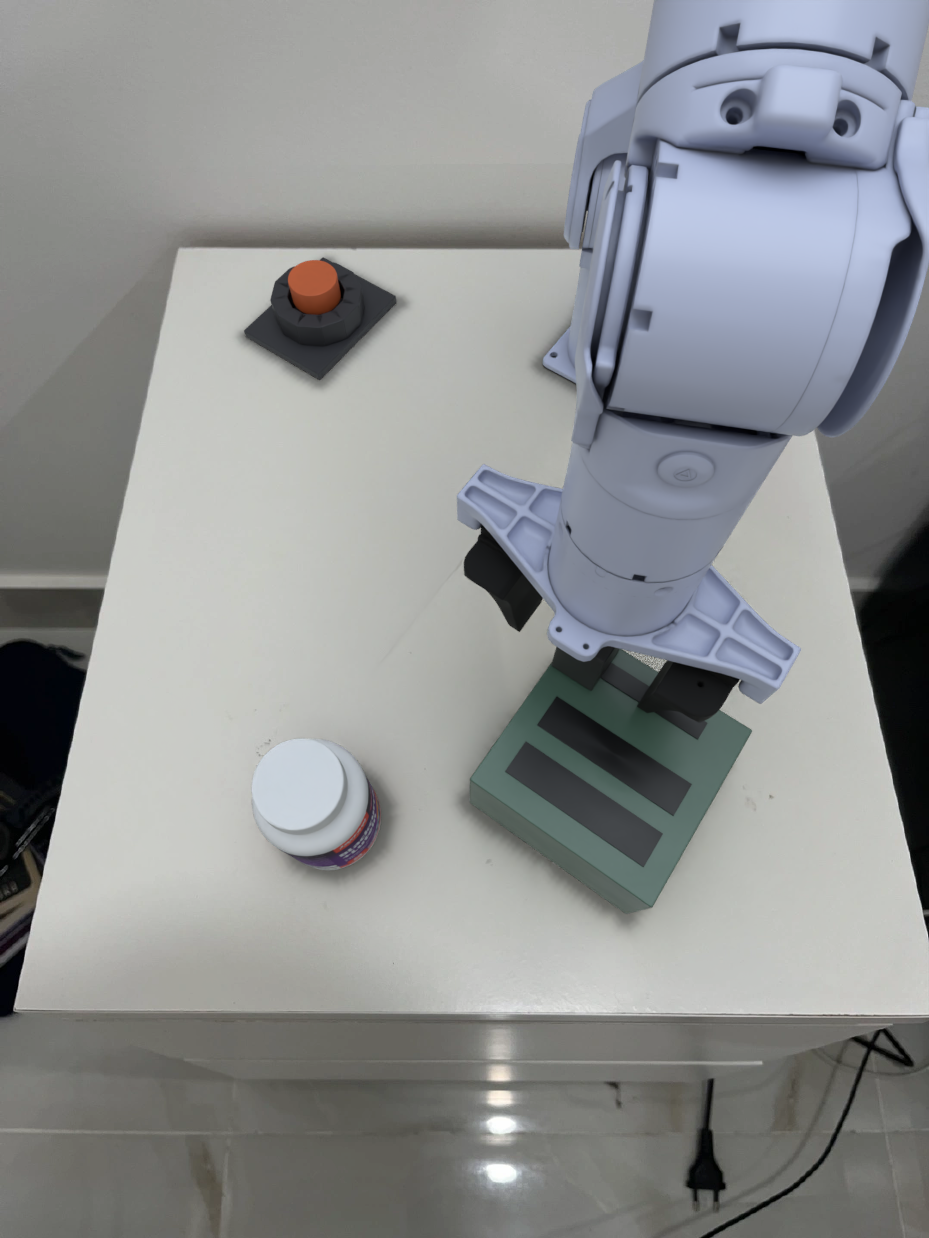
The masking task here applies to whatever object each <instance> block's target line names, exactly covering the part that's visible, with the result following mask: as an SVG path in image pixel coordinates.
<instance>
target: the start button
mask: <svg viewBox="0 0 929 1238" xmlns="http://www.w3.org/2000/svg"><path fill="white" fill-rule="evenodd" d="M293 267H294V266H293ZM288 284H289V288H290V291H291V295H292V299H293V302H294V305H295V306H296V308H297V309H298V310H300V311H301V312H303V313H306V314H314V315H321V314H323V313H326V312H329V311H331V310H333V309H334V308H335V307H336V306H337V305H338V303H339V301H340V298H341V293H340V288H339V282H338V277H337V273H336V270H335V269H334V268H333V267H332V266H331V265H330V264H328V263H326V262H324V261H320V259H311V260H305V261H302V262H300V263H297V264H296V265H295V267H294V268H293V269H292V270H291V272H290V273H289V276H288Z"/></svg>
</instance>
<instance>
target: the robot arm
mask: <svg viewBox="0 0 929 1238" xmlns="http://www.w3.org/2000/svg"><path fill="white" fill-rule="evenodd" d="M928 30H929V0H653V4H652V10H651V15H650V21H649V28H648V33H647V39H646V43H645V44H646V45H645V51H644V57H643V59H642V61H640V62H639V63H637V64H635V65H633V66H631V67H630V68H628V69H626V70H624V71H622V72H621V73H619V74H617V75H615V76H613V77H611V78H609V79H607V80H606V81H604V82H602V83H601V84H600V85H598V86H597V87H595V88H594V89H593V91H592V94H591V99H589V100H588V101H587V102H586V103H585V106H584V111H583V116H582V120H581V125H580V126H581V127H580V132H579V135H578V137H577V142H576V147H575V154H574V158H573V164H572V165H573V166H572V171H571V177H570V184H569V191H568V197H567V205H566V211H565V218H564V226H563V238H564V239H565V241H566V242H567V243H568V247H569V249H570V250H578V251H579V249H580V246H581V252H580V259H579V264H578V267H579V273H578V278H577V279H578V280H577V284H576V285H577V286H576V291H575V298H574V303H573V310H572V316H571V322H570V326H569V327H568V328H567V329H566V331H565V332H564V333H563V334H562V335H561V336H560V337H559V339H558V340H557V341H556V342H555V343H554V345H553V346H552V347H551V348H550V349H549V350H548V351H547V353H546V354H545V355H544V356H543V357H542V365H543V366H544V367H545V368H546V369H548V370H550V371H552V372H553V373H556V374H558V375H559V376H561V377H563V378H565V379H567V380H569V381H571V382H572V383H574V384H576V403H575V412H574V420H573V427H572V433H571V439H570V441H571V442H572V443H571V448H570V453H569V457H568V461H567V467H566V472H565V476H564V481H563V487H562V488H560V487H556V486H552V485H547V484H543V483H539V482H534V481H529V480H526V479H521V478H518V477H514V476H511V475H508V474H506V473H503V472H501V471H499V470H497V469H495V468H493V467H491V466H489V465H487V464H485V463H483V464H481V465H480V466H479V468H478V469H477V470H476V471H475V472H474V474H473V475H472V476H471V477H470V478H469V480H468V481H467V482H466V483H465V485H463V486H462V488H461V489H460V491H459V492H458V493H456V520H457V522H459V523H461V524H463V525H464V526H466V527H467V528H469V529H471V530H473V531H477V530H480V534H478V536H477V540H476V542H475V543H474V544H473V546H472V547H471V548H470V549H469V550H468V552H467V553H466V555H465V556H464V561H463V575H464V577H466V579H468V580H469V581H470V582H472V583H473V584H475V585H477V586H479V587H480V588H482V589H483V590H485V591H486V592H487V593H488V594H489V595H490V597H491V598H492V599H493V601H494V602H495V603H496V605H497V606H498V609H499V610H500V611H501V613H502V615H503V617H504V619H505V621H506V623H507V625H508V626H509V627H510V628H512V629H514V630H516V631H517V632H518V633H520V632H521V631H522V630H523V629H524V628H525V626H526V625H527V623H528V621H530V619H531V617H532V616H533V614H535V612H536V610H537V609H538V608H539V607H540V605H541V603H542V602H543V600H544V601H545V602H546V604H547V605H548V606H549V608H550V609H551V611H552V612H553V613H554V614H553V615H554V616H553V617H552V618H551V620H550V622H549V625H548V627H547V630H546V635H547V639H548V641H549V642H550V644H552V645H553V646H555V648H556V647H558V648H560V649H561V650H563V651H564V652H566V653H568V654H569V655H571V656H572V657H574V658H575V659H577V660H580V661H583V662H585V661H590V660H592V659H593V658H594V657H595V656H596V655H597V653H598V652H599V650H600V649H601V648H603V647H606V646H611V647H615V648H619V649H622V650H624V651H626V652H632V653H635V654H640V655H644V656H648V657H653V658H657V659H661V660H665V662H664V663H663V665H662V666H661V667H660V669H659V671H658V674H657V676H656V677H655V679H654V680H653V682H652V683H651V685H650V686H649V688H648V690H647V691H646V693H645V694H644V696H643V697H642V699H641V701H640V702H639V704H638V705H637V707H638V708H640V709H641V710H643V711H644V712H646V713H652V712H656V711H665V710H670V711H677V712H681V713H682V714H684V715H686V716H687V717H689V718H691V719H693V720H695V721H697V722H699V723H700V722H703V721H705V720H707V719H709V718H710V717H712V716H713V715H715V714H716V713H717V712H718V711H719V710H721V708H722V707H723V706H724V704H725V702H726V701H727V699H728V697H729V695H730V694H731V692H732V690H733V689H734V688H735V687H736V685H737V684H738V690H739V692H740V693H741V694H743V695H744V696H746V697H748V699H750V700H752V701H754V702H755V703H757V704H759V705H762V704H763V703H764V702H765V701H767V700H768V699H769V698H770V697H772V695H774V694H775V693H776V692H777V691H778V690H780V689H781V687H782V685H783V683H784V681H785V680H786V678H787V677H788V674H789V673H790V671H791V669H792V667H793V665H794V664H795V662H796V661H797V659H798V656H799V655H800V653H801V651H802V647H800V646H799V645H797V644H796V643H794V642H792V641H791V640H789V639H788V638H786V637H785V636H783V635H782V634H781V633H779V632H778V631H777V630H775V629H774V628H773V627H772V626H771V625H769V623H767V621H765V619H764V618H762V617H761V615H759V613H757V612H756V610H755V609H754V608H753V607H752V606H751V605H750V604H749V603H748V602H747V600H745V598H744V597H743V596H741V595H740V593H739V592H738V591H737V589H735V588H734V586H732V585H731V583H729V582H728V581H727V579H726V578H725V577H724V576H723V575H722V574H721V573H720V572H719V571H718V570H717V568H716V567H714V565H713V563H714V562H715V560H716V558H717V557H718V555H719V553H720V552H721V551H722V549H723V548H724V546H725V544H726V543H727V541H728V540H729V538H730V536H731V535H732V533H733V532H734V531H735V528H737V525H738V524H739V522H740V521H741V519H742V517H743V516H744V514H745V513H746V511H747V509H749V506H750V505H751V503H752V502H753V500H754V499H755V497H756V495H757V493H758V492H759V490H760V489H761V487H762V485H764V482H765V480H767V477H768V476H769V474H770V472H771V471H772V469H773V468H774V466H775V465H776V464H777V461H778V460H779V458H780V457H781V454H782V453H783V452H784V450H785V449H786V447H787V445H788V444H789V442H790V440H792V437H793V436H794V437H804V436H807V435H809V434H810V433H812V432H813V431H814V430H816V429H817V430H818V431H819V433H820V434H822V435H823V436H824V437H827V438H833V439H834V438H838V437H840V436H843V435H844V434H847V432H850V431H851V430H852V429H853V428H854V427H855V426H856V425H857V424H858V423H859V422H860V421H861V420H862V418H863V417H864V416H865V415H866V413H867V412H868V411H869V410H870V408H871V407H872V405H873V404H874V402H875V401H876V400H877V397H878V396H879V394H880V393H881V392H882V390H883V388H884V386H885V384H886V382H887V381H888V379H889V377H890V375H891V373H892V372H893V370H894V367H895V365H896V362H898V359H899V356H900V354H901V351H902V349H903V347H904V345H905V343H906V340H907V337H908V334H909V331H910V329H911V326H912V324H913V321H914V319H915V315H916V312H917V309H918V306H919V302H920V299H921V296H922V293H923V288H924V285H925V280H926V276H927V273H928V269H929V106H928V107H927V106H919V105H916V103H915V101H913V98H914V93H915V89H916V84H917V79H918V76H919V70H920V65H921V61H922V57H923V52H924V48H925V43H926V39H927V34H928ZM582 235H583V239H582ZM581 239H582V245H581Z"/></svg>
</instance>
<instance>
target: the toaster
mask: <svg viewBox="0 0 929 1238" xmlns="http://www.w3.org/2000/svg"><path fill="white" fill-rule="evenodd" d="M551 664H552V661H551V662H550V663H549V665H548V666H547V668H546V669H545V671H544V672H543V673H542V675H541V676H540V678H539V680H537V682H536V684H535V685H534V686H533V687H532V689H531V691H530V692H529V693H528V695H527V696H526V698H525V699H524V700H523V702H522V703H521V705H520V706H519V708H518V709H517V711H516V712H515V713H514V715H513V716H512V718H511V719H510V721H508V723H507V724H506V727H504V729H503V731H502V732H501V733H500V735H499V736H498V738H497V739H496V741H495V742H494V743H493V745H492V746H491V748H490V749H489V750H488V752H487V753H486V755H485V756H484V758H483V759H482V760H481V762H480V763H479V765H478V766H477V768H476V769H475V770H474V772H473V773H472V775H471V776H470V778H469V804H471V805H472V806H474V807H475V808H477V809H478V810H479V811H481V812H482V813H484V814H485V815H486V816H487V817H489V818H490V819H492V820H494V821H495V822H496V823H497V824H499V825H500V826H502V827H503V828H505V830H507V831H509V832H510V833H511V834H513V835H514V836H516V837H517V838H518V839H520V840H521V841H523V842H524V843H526V844H527V845H528V846H530V847H531V848H533V849H534V850H536V851H537V852H538V853H540V854H541V855H543V856H544V857H545V858H546V859H548V860H550V861H551V862H552V863H554V864H555V865H556V866H558V867H559V868H560V869H562V870H564V871H565V872H566V873H568V874H569V875H571V876H572V877H573V878H574V879H576V880H577V881H578V882H580V883H582V884H583V885H584V886H586V887H587V888H588V889H590V890H592V891H593V892H594V893H596V894H597V895H599V896H600V897H601V898H602V899H604V900H606V901H607V902H608V903H610V904H611V905H612V906H614V907H615V908H617V909H618V910H620V912H622V913H624V914H625V915H628V914H632V913H636V912H640V911H644V910H648V909H652V908H653V907H654V905H655V903H656V902H657V901H658V899H659V897H660V895H661V893H662V892H663V889H664V888H665V886H666V884H667V883H668V881H669V879H670V877H671V876H672V874H673V872H674V870H675V869H676V867H677V865H678V863H679V862H680V859H681V858H682V856H683V854H684V852H685V851H686V849H687V847H688V845H689V844H690V842H691V841H692V838H693V837H694V835H695V834H696V831H697V830H698V828H699V827H700V825H701V823H702V821H703V819H704V818H705V816H706V814H707V812H708V810H709V809H710V807H711V805H712V803H713V802H714V800H715V799H716V796H717V794H718V793H719V792H720V789H721V787H722V786H723V784H724V782H725V780H726V779H727V776H728V775H729V774H730V772H731V770H732V768H733V766H734V765H735V762H736V761H737V759H738V758H739V756H740V754H741V752H742V751H743V749H744V747H745V745H746V743H747V742H748V740H749V738H750V736H751V734H753V730H752V728H750V727H748V726H746V725H745V724H743V723H742V722H740V721H739V720H737V719H735V718H734V717H733V716H730V715H729V714H727V713H726V712H724V711H722V710H721V709H720V710H719V711H718V712H717V713H716V714H715V715H713V716H712V717H710V718H709V719H707V720H705V721H703V722H700V723H699V722H697V721H695V720H693V719H691V718H689V717H687V716H686V715H684V714H682V713H681V712H677V711H670V710H665V711H656V712H652V713H646V712H644V711H643V710H641V709H640V708H638V707H637V705H638V704H639V702H640V701H641V699H642V697H643V696H644V694H645V693H646V691H647V690H648V688H649V686H650V685H651V683H652V682H653V680H654V679H655V677H656V676H657V674H658V672H659V671H658V670H656V669H654V668H653V667H651V666H650V665H648V664H647V663H645V662H643V661H642V660H640V659H638V658H637V657H635V656H633V655H632V654H630V653H628V651H626V650H623V649H619V651H618V652H617V654H616V655H615V657H614V658H613V660H612V661H611V663H610V664H609V666H608V667H607V669H606V670H605V672H604V673H603V675H602V676H601V678H600V679H599V681H598V682H597V684H596V685H595V687H594V688H593V690H592V691H590V690H589V689H587V688H585V687H584V686H582V685H581V684H579V683H578V682H576V681H574V680H573V679H571V678H570V677H568V676H567V675H565V674H564V673H562V672H560V671H559V670H557V669H556V668H554V667H553V666H551Z"/></svg>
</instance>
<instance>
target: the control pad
mask: <svg viewBox="0 0 929 1238" xmlns="http://www.w3.org/2000/svg"><path fill="white" fill-rule="evenodd" d="M319 260H320V261H324V262H326V263H328V264H330V265H331V266H332V267H333V268H334V269H335V270H336V273H337V277H338V282H339V288H340V293H341V298H340V301H339V303H338V305H337V306H336V307H335V308H334V309H333V310H331V311H329V312H326V313H323V314H321V315H314V314H306V313H303V312H301V311H300V310H298V309H297V308H296V306H295V305H294V302H293V299H292V295H291V291H290V288H289V284H288V276H289V273H290V272H291V270H292V269H293V268H294V267H295V266H296V265H295V266H291V267H289V268H288V269H287V270H286V271H284V272H283V274H282V275H280V276H279V277H278V278H277V279H276V280H275V281H274V284H273V287H272V292H271V295H270V299H269V301H270V306H268V307H267V308H266V309H265V310H264V311H263V312H262V313H261V314H260V315H259V316H258V317H257V318H255V319H254V320H253V321H252V322H251V323H250V324H249V325H248V326H246V328H245V329H244V330H243V332H244V335H245V338H247V339H248V340H250V341H252V342H253V343H255V344H257V345H259V346H260V347H262V348H264V349H265V350H267V351H268V352H270V353H272V354H274V355H276V356H277V357H280V358H281V359H282V360H283V361H286V362H287V363H289V364H290V365H292V366H295V367H296V368H297V369H300V370H301V371H303V372H304V373H306V374H308V375H309V376H311V377H313V378H315V379H316V380H318V381H321V380H322V379H323V378H324V377H325V376H326V375H327V374H328V373H329V372H330V371H331V370H332V369H333V368H334V367H335V366H336V365H337V364H338V362H340V360H341V359H343V357H345V356H346V355H347V353H349V352H350V350H352V349H353V348H354V346H356V344H357V343H358V342H360V340H361V339H362V338H363V337H365V336H366V334H368V332H369V331H370V330H371V329H372V328H373V327H374V326H375V325H376V324H377V323H378V322H379V321H380V320H381V319H382V318H383V317H385V315H386V314H387V313H388V312H389V311H390V310H391V309H392V308H393V307H394V306H395V305H396V304H397V296H396V295H395V294H392V293H391V292H389V291H387V290H386V289H383V288H382V287H380V286H378V285H376V284H374V283H372V282H371V281H368V280H366V279H365V278H363V277H361V276H359V275H357V274H355V272H354V271H352V270H351V269H348V268H346V267H344V266H342V265H341V264H339V263H337V262H334V261H331V260H330V259H327V258H326V257H321V258H320V259H319Z"/></svg>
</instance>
